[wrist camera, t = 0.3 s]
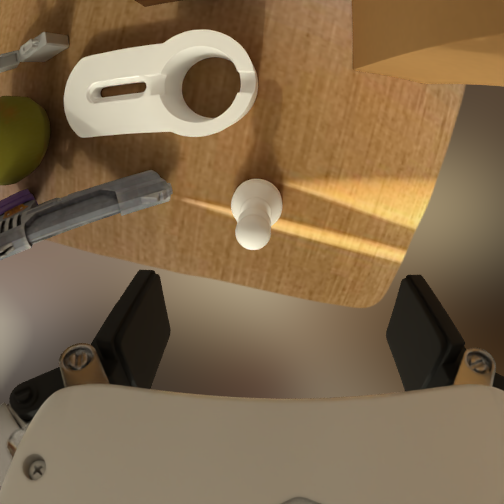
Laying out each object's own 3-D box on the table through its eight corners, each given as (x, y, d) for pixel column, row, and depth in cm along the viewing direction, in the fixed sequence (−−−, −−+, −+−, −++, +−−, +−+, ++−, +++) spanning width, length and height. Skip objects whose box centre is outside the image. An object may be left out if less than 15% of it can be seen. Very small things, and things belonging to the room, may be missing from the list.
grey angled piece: (67, 34, 23) (22, 27, 16) (69, 46, 24) (23, 42, 16) (25, 62, 24) (-20, 64, 17) (27, 73, 25) (-18, 77, 18)
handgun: (147, 171, 40) (178, 210, 29) (2, 221, 31) (-24, 283, 20) (143, 147, 38) (173, 177, 27) (-7, 199, 29) (-39, 253, 18)
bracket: (260, 44, 24) (256, 28, 18) (256, 130, 28) (252, 137, 22) (76, 63, 25) (38, 61, 19) (76, 136, 29) (40, 148, 23)
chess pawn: (224, 189, 31) (207, 223, 23) (270, 170, 30) (269, 197, 22) (245, 231, 33) (236, 276, 25) (289, 214, 32) (295, 255, 24)
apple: (70, 162, 30) (8, 192, 20) (19, 176, 31) (-39, 206, 21) (59, 81, 26) (-8, 87, 16) (7, 105, 26) (-54, 120, 17)
